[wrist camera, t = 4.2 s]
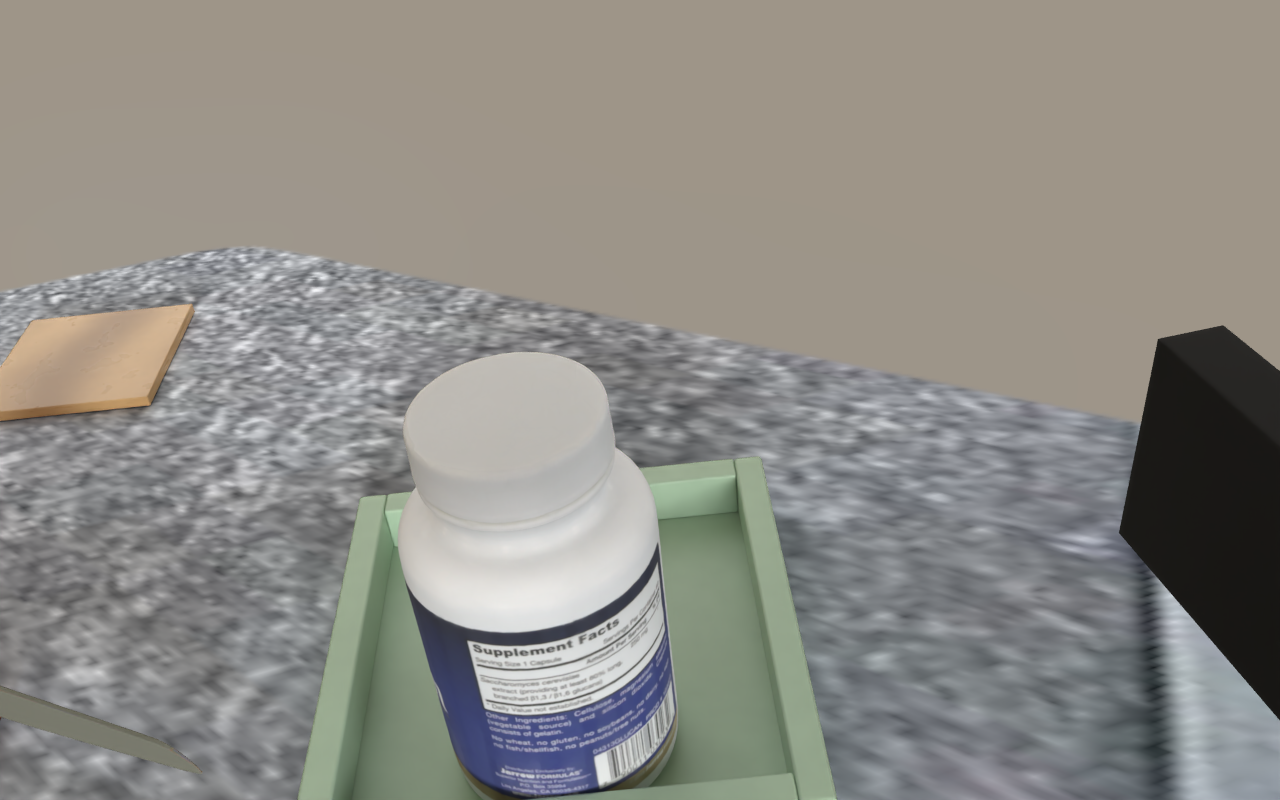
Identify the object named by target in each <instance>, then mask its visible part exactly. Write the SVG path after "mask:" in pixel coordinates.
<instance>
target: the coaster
mask: <svg viewBox="0 0 1280 800" xmlns="http://www.w3.org/2000/svg"><path fill="white" fill-rule="evenodd" d="M194 312H195V311H194V309H193V306H192V304H185V305H176V306H166V307H156V308H147V309H137V310H127V311H118V312H108V313H98V314H89V315H79V316H70V317H60V318H50V319H41V320H32V321H31V323H30V324H29V326H28V327H27V329H26V330H25V332H24V333H23V335H22V336H21V338H20V339H19V340H18V342H17V343H16V345H15V346H14V348H13V349H12V351H11V352H10V354H9V355H8V357H7V358H6V360H5V361H4V363H3V364H2V366H1V367H0V421H3V420H13V419H23V418H32V417H42V416H52V415H61V414H71V413H81V412H91V411H100V410H110V409H120V408H129V407H139V406H149V405H151V403H152V401H153V399H154V396H155V394H156V392H157V390H158V388H159V386H160V384H161V382H162V380H163V377H164V375H165V373H166V371H167V369H168V367H169V365H170V363H171V361H172V358H173V356H174V354H175V352H176V350H177V348H178V346H179V344H180V342H181V340H182V337H183V335H184V333H185V331H186V329H187V327H188V325H189V323H190V321H191V318H192V316H193V314H194Z"/></svg>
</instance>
